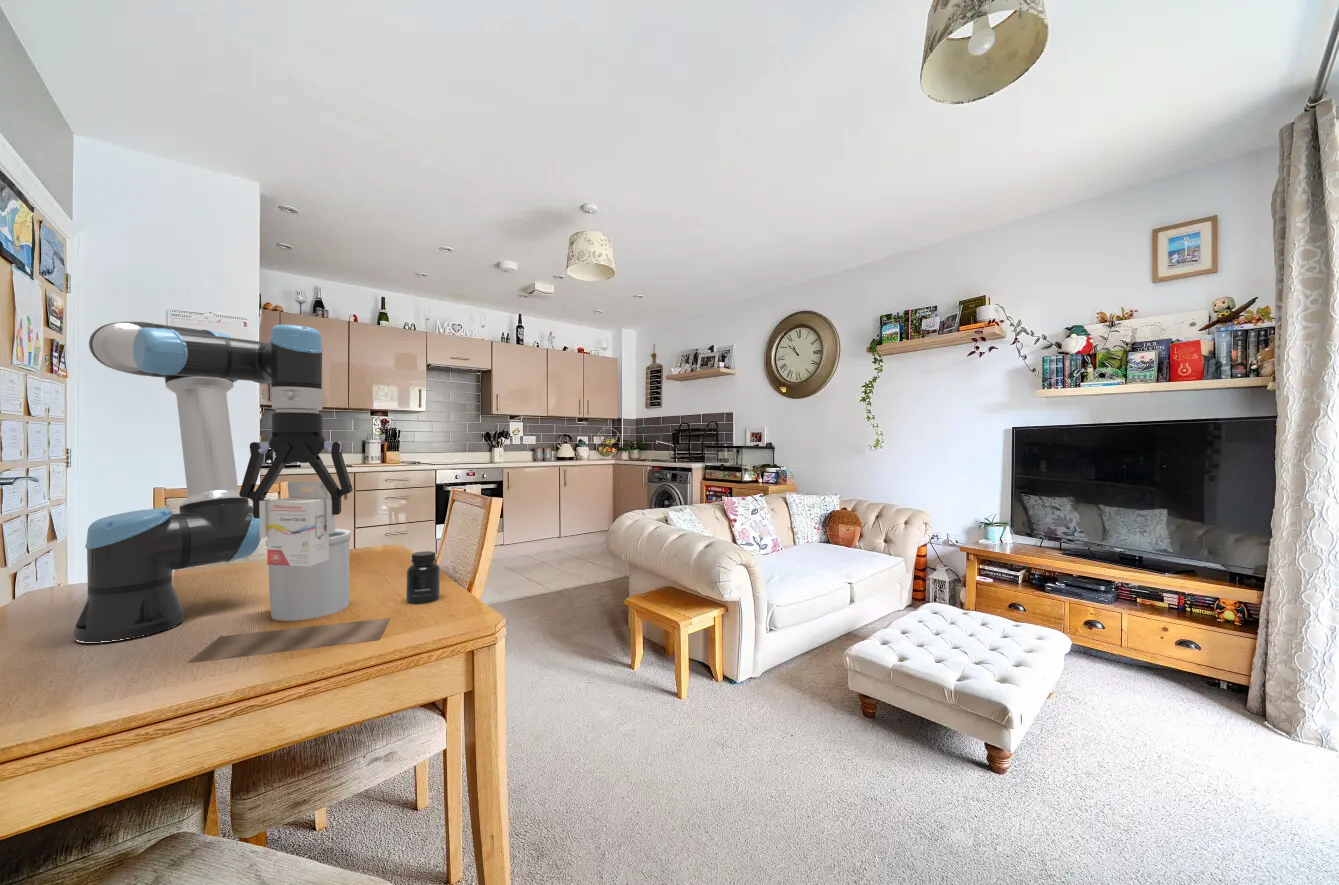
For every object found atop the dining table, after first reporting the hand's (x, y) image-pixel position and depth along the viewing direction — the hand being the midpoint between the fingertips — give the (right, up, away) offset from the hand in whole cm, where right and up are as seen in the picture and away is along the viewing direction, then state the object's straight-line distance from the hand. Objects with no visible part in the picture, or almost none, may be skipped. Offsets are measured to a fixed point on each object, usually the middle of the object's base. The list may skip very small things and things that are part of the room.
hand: (298, 534), depth 94 cm
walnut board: (0, -21, 0) cm, 21 cm away
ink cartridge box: (0, -5, 0) cm, 5 cm away
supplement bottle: (+12, -20, +23) cm, 33 cm away
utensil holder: (-9, -21, +16) cm, 28 cm away
